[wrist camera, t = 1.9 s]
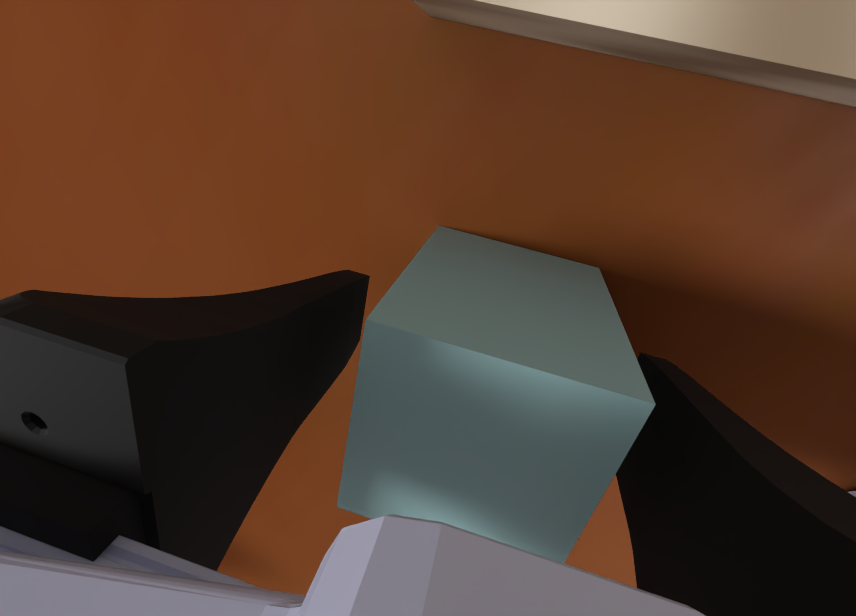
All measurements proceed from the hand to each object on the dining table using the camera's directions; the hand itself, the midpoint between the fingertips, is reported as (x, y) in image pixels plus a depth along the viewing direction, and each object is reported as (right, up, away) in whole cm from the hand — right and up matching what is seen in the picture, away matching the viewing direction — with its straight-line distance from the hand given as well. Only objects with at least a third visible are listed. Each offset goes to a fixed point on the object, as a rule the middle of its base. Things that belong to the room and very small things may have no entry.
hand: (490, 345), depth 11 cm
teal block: (0, +1, +2) cm, 2 cm away
